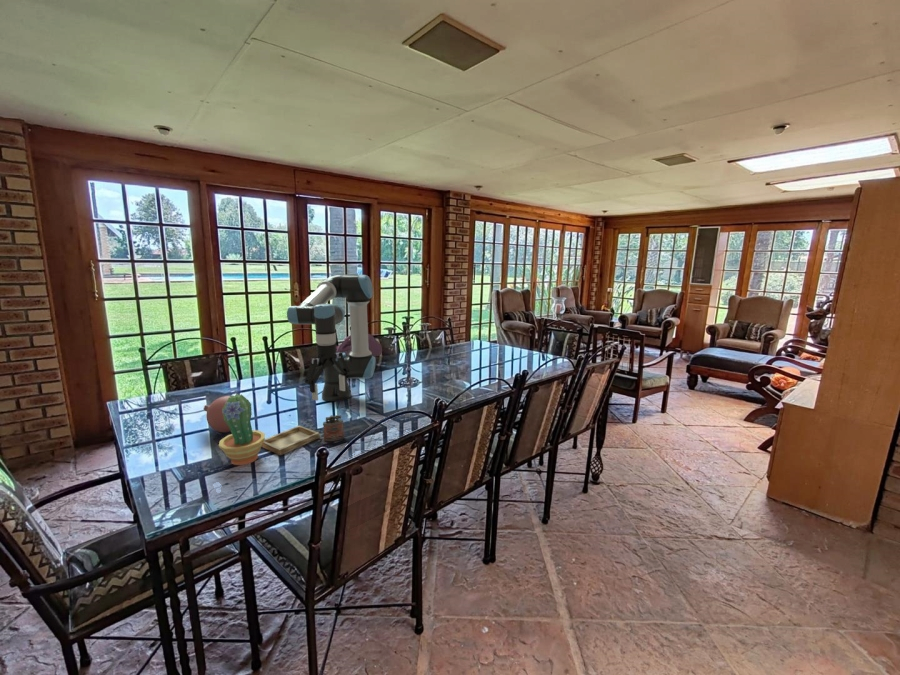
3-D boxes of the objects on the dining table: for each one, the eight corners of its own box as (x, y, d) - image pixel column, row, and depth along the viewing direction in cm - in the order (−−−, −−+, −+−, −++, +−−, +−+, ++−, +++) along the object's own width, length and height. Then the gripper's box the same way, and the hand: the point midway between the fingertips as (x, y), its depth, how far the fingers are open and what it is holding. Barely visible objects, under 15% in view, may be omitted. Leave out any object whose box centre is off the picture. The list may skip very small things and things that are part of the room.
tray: (299, 430, 172) (299, 425, 172) (319, 437, 165) (319, 432, 165) (260, 446, 158) (260, 441, 157) (280, 455, 151) (279, 450, 150)
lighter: (324, 442, 162) (322, 418, 160) (323, 438, 165) (322, 415, 163) (344, 438, 165) (343, 415, 163) (343, 435, 168) (342, 412, 166)
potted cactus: (210, 465, 144) (202, 399, 139) (246, 446, 158) (239, 386, 153) (243, 473, 138) (235, 405, 133) (276, 453, 152) (270, 391, 147)
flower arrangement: (349, 387, 244) (351, 345, 233) (319, 375, 252) (320, 333, 241) (381, 367, 274) (385, 329, 264) (353, 357, 282) (356, 319, 272)
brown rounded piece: (224, 419, 183) (221, 387, 180) (257, 426, 176) (254, 393, 172) (192, 433, 169) (187, 398, 166) (226, 441, 162) (222, 405, 158)
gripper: (344, 337, 169) (346, 385, 173) (292, 348, 149) (296, 402, 153) (356, 339, 165) (358, 388, 169) (305, 350, 144) (308, 406, 149)
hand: (329, 395), depth 161 cm, fingers open, 13 cm apart
